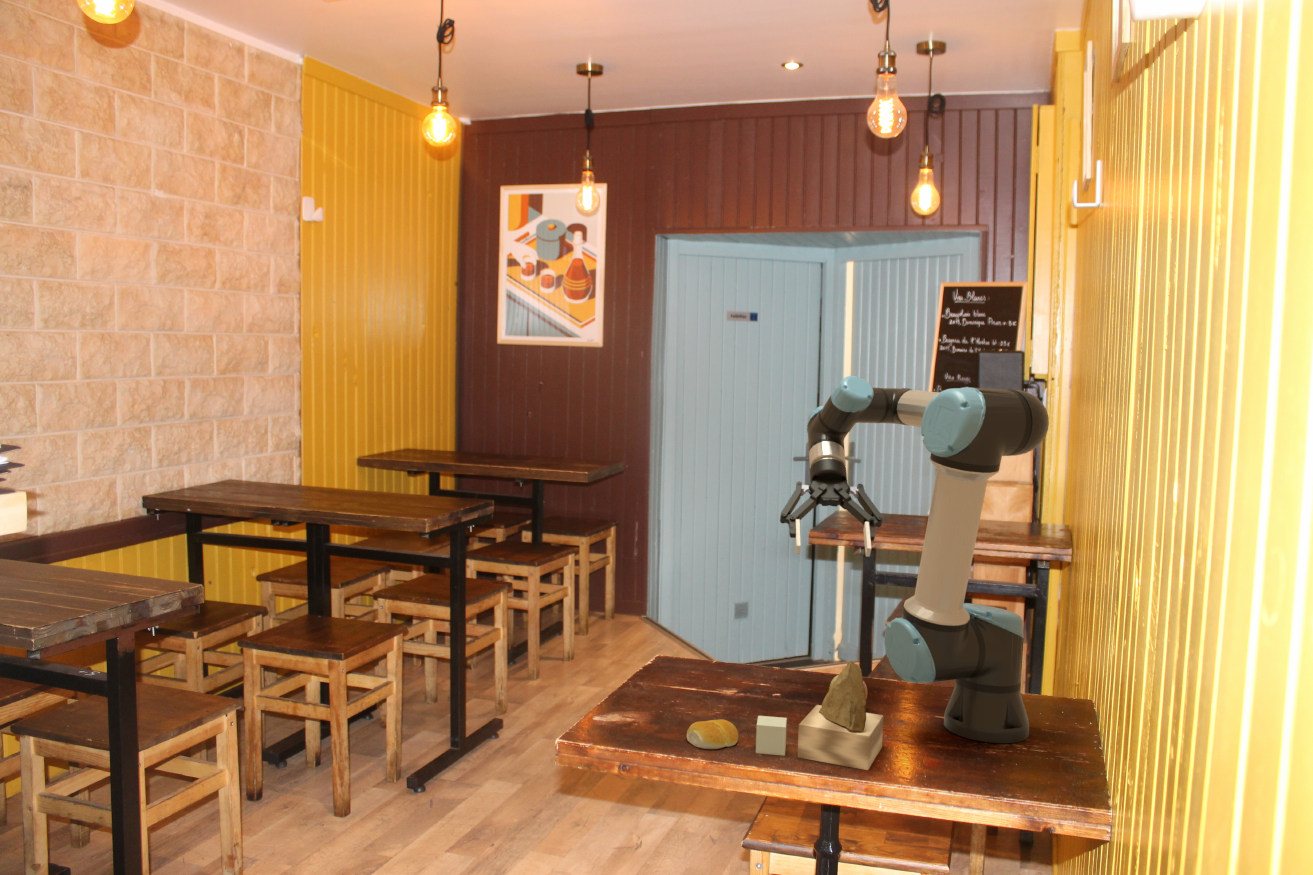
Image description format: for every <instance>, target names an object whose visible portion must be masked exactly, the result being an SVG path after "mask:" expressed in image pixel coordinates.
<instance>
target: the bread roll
mask: <svg viewBox="0 0 1313 875" xmlns="http://www.w3.org/2000/svg"><path fill="white" fill-rule="evenodd" d="M686 739H687V742H688V743H689V744H691V745H693V746H694V747H697V748H699V749H705V750H718V749H723V748H725V747H727V748H728V747H729V748H730V747H734V746H735V745H736V744H737V743H738V741H739V731H738V729H737V727H736V726H735V725H734V724H733V723H732V722H731V721H728V720H726V719H723V718H722V719H721V718H720V719H711V720H710V719H709V720H703V721H702V720H701V721H700V720H699V721H695V722H693V723H692V724H690V726H689V727H688V729H687V731H686Z"/></svg>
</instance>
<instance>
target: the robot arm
mask: <svg viewBox="0 0 1313 875" xmlns="http://www.w3.org/2000/svg"><path fill="white" fill-rule="evenodd" d="M857 423H858V424H860V423H861V424H863V423H864V424H895V425H903V426H912V427H918V428H920V434H921V436H922V437H923V439H922V443H923V445H924V447H925V449H926V450H927V451H928V452H929V453H930V457H929V461H930V462H931V464H932V465H933V467H934V468H935V469H936V474H935V480H934V485H933V490H932V496H931V502H930V508H929V513H928V518H927V524H926V530H925V533H924V534H925V535H924V540H923V545H922V551H921V555H920V563H919V568H918V573H917V580H916V585H915V591H914V595H912V596H911V597H909V598H907V599H905V601H904V604H903V608H902V613H901V617H895V618H894V619H892V620H891V621H890V622H888V623H887V625H886V627H885V630H884V637H883V639H884V640H883V641H884V648H885V654H886V658H887V659H888V660H889V664H890V666H891V668H892V670H893V671H894V673H896V675H898V677H899V678H901V679H902V680H903V681H905V682H907V683H911V684H932V683H936V682H945V681H954V680H955V683H954V684H955V685H954V688H953V690H952V693H951V695H950V698H949V699H948V703H947V705H946V708H945V709H944V710H945V711H944V714H943V716H944V718H943V726H944V727H945V729H947V730H948V731H949V732H951V733H952V734H955V735H957V736H959V737H963V738H965V739H969V740H974V741H978V742H985V743H990V744H991V743H993V744H1013V743H1019V742H1023V741H1026V739H1028V737H1029V735H1030V721H1029V717H1028V714H1027V711H1026V710H1027V709H1026V707H1025V703H1024V701H1023V697H1022V693H1021V689H1022V686H1021V685H1022V670H1023V657H1024V656H1023V651H1024V639H1025V635H1024V621H1023V618H1022V617H1021V616H1020V615H1019V613H1016V612H1014V611H1011V610H1006V609H1004V608H999V607H996V606H991V605H984V604H977V603H969V602H965V598H966V593H967V588H968V584H969V577H970V573H971V568H972V562H973V557H974V553H975V552H974V551H975V547H976V543H977V538H978V537H977V536H978V532H979V528H980V527H979V526H980V522H981V516H982V511H983V505H984V501H985V495H986V491H987V490H986V489H987V486H988V481H989V479H990V478H992V477H993V476H995V475H996V474H998V473H999V471H1000V468H1001V462H1002V459H1003V458H1002V457H1011V456H1014V457H1015V456H1020V455H1024V454H1025V455H1026V454H1027V453H1030V452H1031V451H1033V450H1034V449H1036V448H1037V447H1038V446H1040V445H1041V443H1042V442H1044V440H1045V438H1046V437H1047V434H1048V431H1049V426H1050V425H1049V424H1050V418H1049V414H1048V411H1047V409H1046V406H1045V405H1044V404H1043V402H1042V400H1040V399H1039V398H1038V397H1036V396H1035V395H1033V394H1032V393H1030V392H1027V391H1025V390H1024V391H1023V390H1020V389H1010V388H1009V389H1005V388H1004V389H1001V388H999V389H998V388H986V387H985V388H984V387H982V388H981V387H969V386H964V387H960V388H959V387H958V388H957V387H956V388H955V387H954V388H947V389H945V390H942V391H941V392H938V391H927V390H920V389H919V390H918V389H916V388H915V389H914V388H907V387H902V388H897V387H896V388H894V387H887V388H885V387H874V386H873V387H872V385H871V383H869V382H868V381H867V380H866V379H864V378H860V377H858V376H856V375H848V376H845V377H843V378H842V379H841V380H840V382H839V383H838V384H837V385H836V387H835V388H834V389H833V390H832V392H831V394H830V396H829V398H828V399H827V401H826V402H825V403H824V405H820V406H818V407H816V408H815V409H812V410H811V411H810V412H809V413H808V418H807V425H806V426H807V427H806V431H807V438H808V439H807V440H808V441H807V442H808V443H807V444H808V453H809V454H808V455H809V458H808V459H809V460H808V461H809V480H810V482H809V483H810V484H809V485H808V484H803V482H802V481H800V480H799V481H796V483H795V489H794V491H793V493H792V495H791V496H790V498H789V499H788V501H787V503H786V504H785V505H784V508H783V509H782V510H781V512H780V517H779V523H780V524H787V525H788V527H789V528H788V529H789V530H788V532H789V537H790V538H792V539H794V542H795V543H794V545H795V554H796V555H800V552H801V523H800V522H801V520H803V518H804V517H806V516H807V515H808V513H810V512H811V511H812V510H813V509H815V508H817V507H818V505H821V506H822V507H829V506H830V507H838V506H840V507H841V508H842V509H843V510H846V511H848V513H850V515H852V516H853V517H854V518H855V519H856V520H858V521H859V523H861V524H862V525H863V528H862V530H863V542H864V552H865V557H871V552H872V542H874V541H875V540H876V538H875V537H876V529H875V528H876V527H877V528H881V527H882V526H883V525H882V524H883V521H884V516H883V515H882V513H881V512H880V510H879V509H878V508H877V507H876V505H875V504H874V502H873V501H872V500H871V499H870V497H869V495H868V494H867V493H866V491H865V486H864V484H862V483H858V484H857V486H850V485H849V484H848V475H847V474H848V473H847V467H846V466H847V464H846V463H847V462H846V454H845V453H846V451H845V439H846V437H847V435H848V434H849V433H850V432H851V430H852V429H853V427H854V426H855V425H856V424H857ZM806 493H808V494H809V495H810V496H809V497H808V498H807V500H805V501H804V502H803V503H802V504H801V505H800V506H799V507H797V509H796V506H797V505H798V503H799V501H800V499H801V497H803V496H804V495H805V494H806ZM850 494H852V495H853V497H854V498H855V499H857V501H858V502H859V504H860V505H859V504H858V503H857V502H856V501H854V500H853V498H852V497H851V495H850Z"/></svg>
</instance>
